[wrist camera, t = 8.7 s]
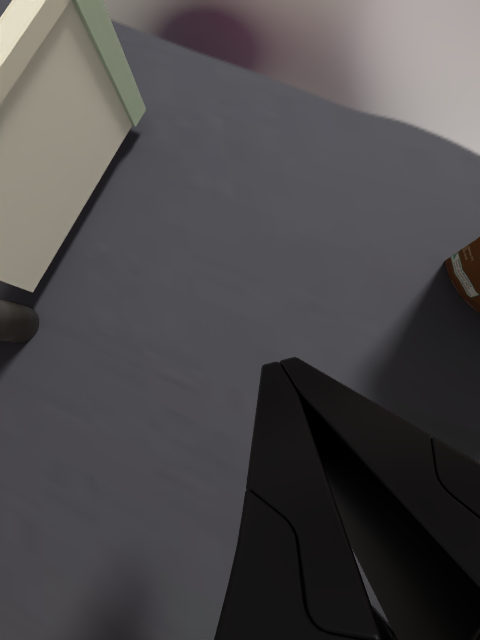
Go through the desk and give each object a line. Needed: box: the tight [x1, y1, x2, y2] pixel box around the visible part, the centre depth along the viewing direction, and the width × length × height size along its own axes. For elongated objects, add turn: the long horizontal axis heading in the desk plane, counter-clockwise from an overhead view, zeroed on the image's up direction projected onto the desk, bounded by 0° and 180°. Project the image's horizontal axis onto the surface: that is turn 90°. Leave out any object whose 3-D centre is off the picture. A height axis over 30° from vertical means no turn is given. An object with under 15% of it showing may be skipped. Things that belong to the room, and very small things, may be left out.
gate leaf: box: [0, 0, 146, 292], centre depth 18 cm, size 15×2×9 cm, turn 154°
